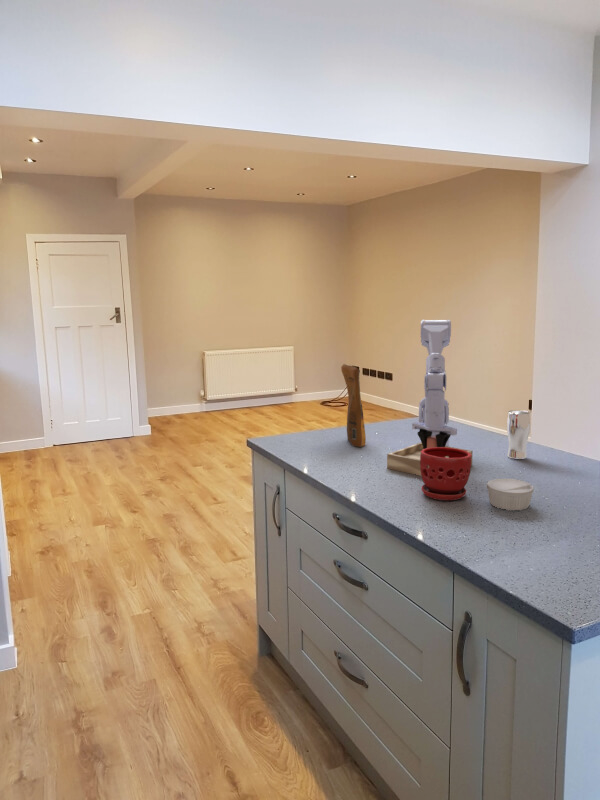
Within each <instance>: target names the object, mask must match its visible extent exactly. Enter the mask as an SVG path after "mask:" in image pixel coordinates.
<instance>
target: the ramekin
mask: <svg viewBox="0 0 600 800" xmlns="http://www.w3.org/2000/svg"><path fill="white" fill-rule="evenodd" d="M486 488H487V493H488V500H489V503H490V505H491V506H492V507H494V506H495V507H494V508H496V507H497V508H496V509H499V508H501V509H500V510H502V509H506V510H505V511H509V510H520V511H523V510H522V509H524V510H526V509H527V508H529V506H530V504H531V501H532V496H533V493H534V490H535V489H534V486H533V485H532V484H531V483H529V482H527V481H524V480H521V479H520V480H519V479H513V478H495V479H491V480H488V482H487V483H486Z"/></svg>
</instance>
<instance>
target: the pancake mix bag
mask: <svg viewBox="0 0 600 800" xmlns="http://www.w3.org/2000/svg"><path fill="white" fill-rule="evenodd" d="M341 373H342V376H343V378H344V382H345V385H346V389H347V396H348V405H347V412H346V413H347V414H346V415H347V416H346V437H347V440H348V441H350V442H349V443H350V444H351V445H353V446H352V447H355V446H357V447H356V448H362V447H364V446H366V441H367V440H366V438H367V436H366V428H365V418H364V411H363V403H362V398H361V385H360V384H361V383H360V373H361V372H360V369H359V368H357V366H354V365H353V366H352V365H347V364H345V363H343V364H342V365H341Z"/></svg>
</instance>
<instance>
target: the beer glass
mask: <svg viewBox="0 0 600 800" xmlns="http://www.w3.org/2000/svg"><path fill="white" fill-rule="evenodd" d="M507 414H508V415H507V422H506V430H507V431H506V432H507V439H508V451H507V455H506V457H507V456H508V457H510V458H518V459H522V458H526V457H527V458H528V455H527V454H528V453H527V445H528V441H529V440H528V439H529V435H530V431H531V412H530V411H527V410H520V409H513V410H511V409H510V410H508V413H507ZM508 457H507V458H508ZM510 458H509V459H510Z"/></svg>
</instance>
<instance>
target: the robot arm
mask: <svg viewBox="0 0 600 800" xmlns="http://www.w3.org/2000/svg"><path fill="white" fill-rule="evenodd" d="M451 337H452V321H451V320H450V319H439V320H438V319H422V320H421V321H420V343H421V346H422V347H425V348H426V350H427V353H428V356H427V357H426V359H425V375H424V376H423V377H424V381H423V383H424V385H423V389H424V397H423V398H422V399H420V402H419V406H418V421H415V422H412V424H411V425H412V427H411V428H412V430H418V431H417V436H418V437H419V439H420V442H422V445H423V449H426V448H427V437H430V436H436V440H437V447H445V446H448V447H450V446H449V445H450V441H449V440H450V438H451V436H457V434H458V428H456V427H452V426H448V424H449V418H450V417H449V416H450V407H449V406H450V405H449V401H448V400H447V399H446V398H445V397H446V396H445V395H446V394H445V393H446V390H447V373H446V372H447V371H446V358H445V356H443V354H442V352H443V350H444V348H446V347H448V346H449V345H450V344H449V343H450V342H451Z"/></svg>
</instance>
